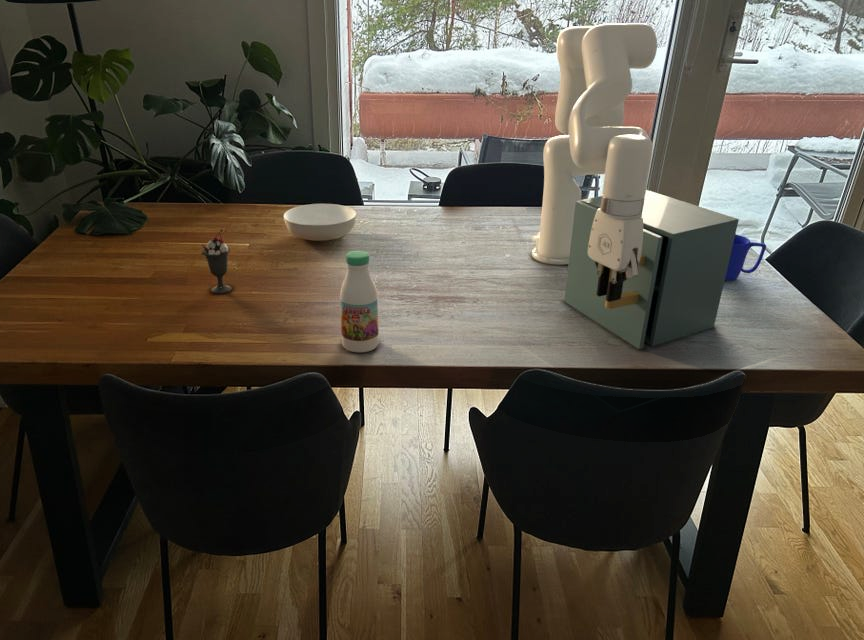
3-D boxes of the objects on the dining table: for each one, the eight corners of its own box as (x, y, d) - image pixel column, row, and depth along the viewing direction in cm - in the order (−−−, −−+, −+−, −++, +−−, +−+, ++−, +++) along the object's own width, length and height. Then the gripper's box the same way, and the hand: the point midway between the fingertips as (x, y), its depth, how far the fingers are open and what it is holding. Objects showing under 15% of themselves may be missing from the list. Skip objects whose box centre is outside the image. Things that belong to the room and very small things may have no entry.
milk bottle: (341, 337, 153) (337, 248, 143) (377, 335, 153) (375, 246, 144) (342, 354, 146) (338, 262, 137) (380, 352, 147) (378, 260, 137)
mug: (761, 285, 173) (771, 246, 169) (708, 282, 176) (717, 243, 171) (753, 273, 180) (762, 235, 176) (702, 270, 183) (710, 232, 178)
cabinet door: (610, 356, 144) (628, 243, 132) (538, 306, 165) (548, 205, 153) (643, 348, 146) (663, 237, 135) (567, 300, 167) (579, 200, 156)
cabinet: (652, 346, 147) (673, 234, 136) (568, 301, 167) (580, 199, 156) (714, 327, 154) (738, 219, 143) (626, 286, 175) (641, 188, 163)
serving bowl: (355, 248, 201) (354, 224, 197) (280, 249, 201) (278, 225, 198) (358, 224, 219) (358, 202, 216) (290, 225, 219) (288, 203, 216)
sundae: (240, 286, 178) (233, 228, 171) (224, 296, 173) (216, 237, 165) (218, 282, 180) (211, 225, 173) (202, 292, 175) (193, 233, 168)
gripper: (577, 197, 137) (567, 286, 146) (635, 220, 124) (620, 316, 133) (609, 192, 140) (597, 280, 149) (669, 214, 127) (652, 309, 136)
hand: (608, 296), depth 141 cm, fingers closed on cabinet door, 2 cm apart
